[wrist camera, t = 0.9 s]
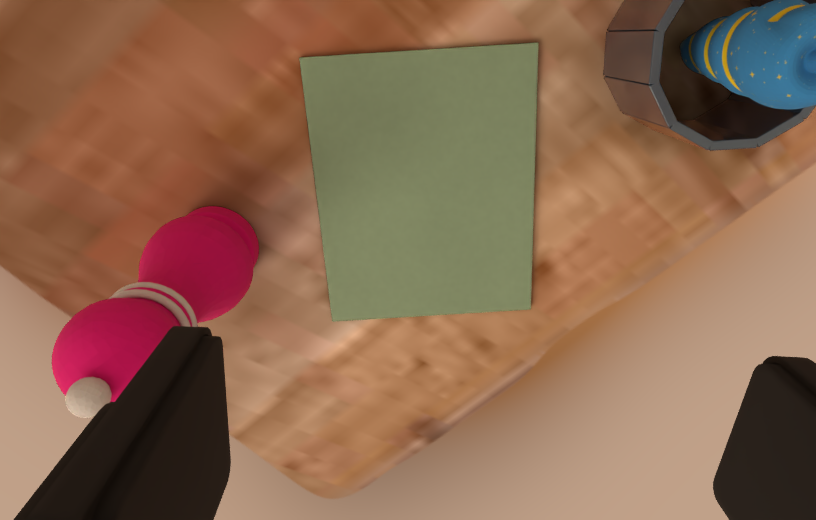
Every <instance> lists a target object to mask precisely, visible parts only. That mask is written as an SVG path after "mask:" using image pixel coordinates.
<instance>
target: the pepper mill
mask: <svg viewBox="0 0 816 520" xmlns="http://www.w3.org/2000/svg"><path fill="white" fill-rule="evenodd" d="M258 254H259V245H258V240H257V236H256V234H255V232H254V230H253V228H252V227H251V226H250V224H249V223H248V222H247V221H246V220H245V219H244V218H243V217H242V216H240V215H239V214H237V213H236V212H234V211H232V210H229V209H226V208H223V207H217V206H208V207H202V208H199V209H196V210H194V211H192V212H191V213H189V214H188V215H187V216H185V217H180V218H177V219H175V220H172V221H170V222H168V223H167V224H165V225H163V226H162V227H161V228H160V229H159V230H158V231H157V232H156V233H155V234H154V235H153V237H152V238H151V239H150V240H149V241H148V243H147V245H146V246H145V248H144V251H143V254H142V257H141V260H140V263H139V280H138V283H133V284H129V285H127V286H124V287H122V288H121V289H119V290H118V291H116V292H115V293H114V294H113V295H112V296H111V297H110V298H109V299H106V300H102V301H99V302H96V303H93V304H91V305H89V306H87V307H86V308H84V309H83V310H81V311H80V312H78V313H77V314H75V316H74V317H73V318H72V319H71V320H70V321H69V322H68V323H67V324H66V325H65V326H64V328H63V329H62V331H61V332H60V334H59V336H58V338H57V340H56V343H55V346H54V349H53V354H52V368H53V374H54V376H55V379H56V382H57V384H58V386H59V387H60V389H61V391H62V392H63V394H65V396H66V401H65V403H66V405H67V408H68V409H69V411H70V412H71V413H72V414H73V415H75V416H77V417H82V418H90V417H94V416H95V415H96V414H97V412H98V411H99V410H100V409H101V408H102V407H103V406H104V405H105V404H107V403H110V402H115V401H116V400H117V398H118V397H119V396H120V394H121V393H122V392H123V390H124V389H125V388H126V386H127V385H128V384H129V382H130V381H131V380H132V378H133V377H134V376H135V374H136V373H137V372H138V371H139V369H140V368H141V367H142V365H143V364H144V363H145V361H146V360H147V359H148V357H149V356H150V355H151V353H152V352H153V351H154V349H155V348H156V347H157V345H158V344H159V343H160V342H161V340H162V339H163V338H164V336H165V335H166V334H167V332H168V331H169V330H170V329H171V328H172V327H173V326H188V327H198V326H197V323H199V322H204V321H208V320H211V319H214V318H216V317H219V316H221V315H222V314H224V313H226V312H228V311H229V310H231V309H232V308H233V307H235V306H236V305H237V304H238V302H239V301H240V300H241V299H242V298H243V297H244V295H245V294H246V292H247V291H248V289H249V287H250V284H251V281H252V277H253V268H254V266H255V264H256V262H257V259H258Z"/></svg>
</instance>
